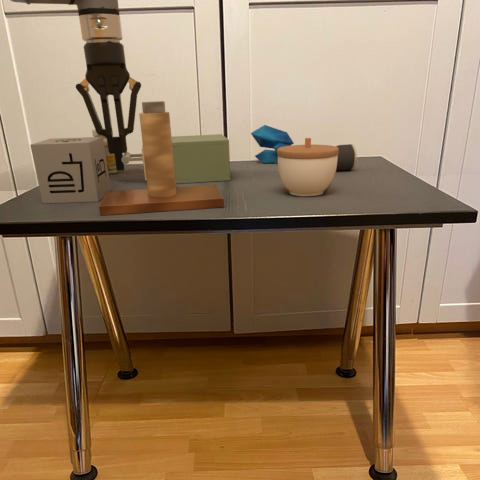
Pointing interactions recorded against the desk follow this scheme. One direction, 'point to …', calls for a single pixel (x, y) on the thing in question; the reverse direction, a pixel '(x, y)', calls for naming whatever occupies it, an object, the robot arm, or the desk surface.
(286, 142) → the crystal
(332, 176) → the trinket box
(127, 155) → the drawer
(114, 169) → the supplement bottle
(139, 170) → the desk surface
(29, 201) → the desk surface
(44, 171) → the icon cube
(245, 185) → the desk surface
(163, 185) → the pepper mill
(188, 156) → the cabinet
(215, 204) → the cutting board
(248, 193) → the desk surface
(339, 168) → the flashlight
